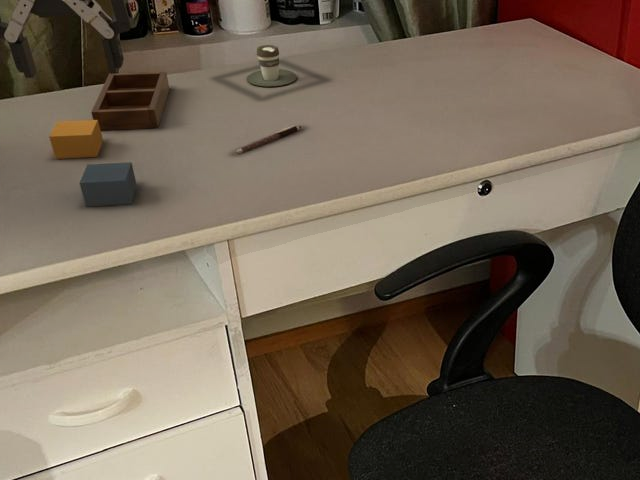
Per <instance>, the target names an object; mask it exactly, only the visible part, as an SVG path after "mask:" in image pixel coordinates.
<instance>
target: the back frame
mask: <svg viewBox="0 0 640 480" xmlns="http://www.w3.org/2000/svg"><path fill="white" fill-rule="evenodd" d="M169 91H170V83H169V78H168V73H167V71H148V72H147V71H142V72H141V71H139V72H138V71H137V72H118V73H117V74H110V72H109V73H108V75H107V77H106V80H105V82H104V84H103V86H102V88H101V91H100V93H99V94H98V97H97V99H96V101H95V102H94V105H93V108H92V110H91V112H90V114H91V117H92V120H98V123H99V127H100V131H118V130H137V129H138V130H139V129H140V130H141V129H159V126H160V122H161V119H162V116H163V112H164V109H165V106H166V102H167V98H168V95H169Z"/></svg>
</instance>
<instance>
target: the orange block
mask: <svg viewBox="0 0 640 480" xmlns="http://www.w3.org/2000/svg"><path fill="white" fill-rule="evenodd" d="M48 137H49V140H50V144H51V148H52V152H53V154H54V158H55V160H61V159H80V158H81V159H83V158H97V157H98V155H99V152H100V151H101V149H102V146H103V143H104V139H103V135H102V130H100V127H99V123H98V120H93V119H83V120H82V119H81V120H64V121H63V120H62V121H59V120H58V121H56V123H55V125H54V127H53V129H52V131H51V132H50V135H49V136H48Z"/></svg>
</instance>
